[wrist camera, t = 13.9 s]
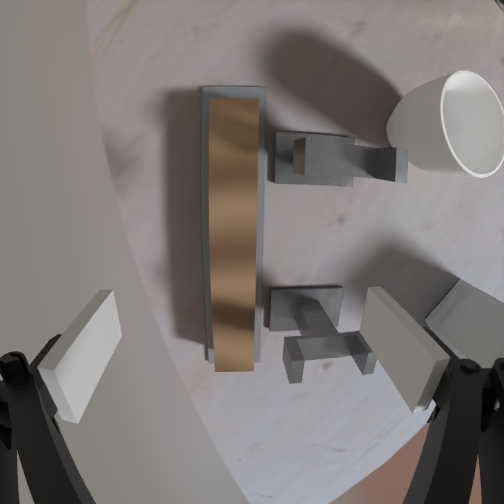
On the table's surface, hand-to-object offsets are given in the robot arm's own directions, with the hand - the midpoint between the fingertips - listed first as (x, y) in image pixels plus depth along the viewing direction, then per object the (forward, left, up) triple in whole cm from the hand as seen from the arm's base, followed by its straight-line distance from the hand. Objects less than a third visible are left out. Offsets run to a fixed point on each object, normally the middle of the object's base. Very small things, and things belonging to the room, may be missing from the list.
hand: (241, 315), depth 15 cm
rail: (0, 0, -16) cm, 16 cm away
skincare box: (+10, +30, -16) cm, 36 cm away
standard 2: (+8, +8, -16) cm, 20 cm away
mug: (-12, +20, -16) cm, 28 cm away
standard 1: (-8, +8, -16) cm, 20 cm away
